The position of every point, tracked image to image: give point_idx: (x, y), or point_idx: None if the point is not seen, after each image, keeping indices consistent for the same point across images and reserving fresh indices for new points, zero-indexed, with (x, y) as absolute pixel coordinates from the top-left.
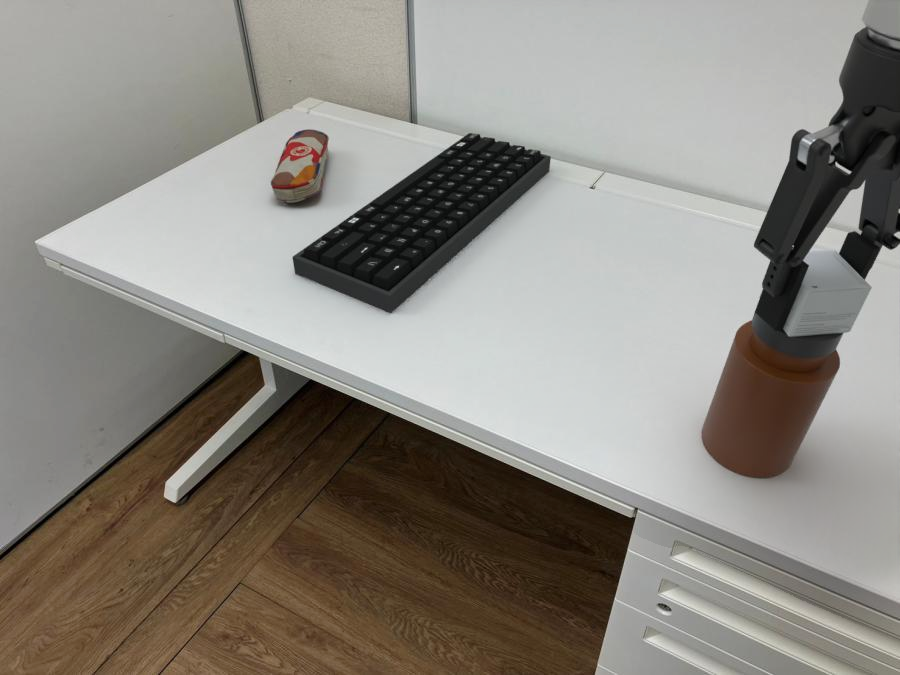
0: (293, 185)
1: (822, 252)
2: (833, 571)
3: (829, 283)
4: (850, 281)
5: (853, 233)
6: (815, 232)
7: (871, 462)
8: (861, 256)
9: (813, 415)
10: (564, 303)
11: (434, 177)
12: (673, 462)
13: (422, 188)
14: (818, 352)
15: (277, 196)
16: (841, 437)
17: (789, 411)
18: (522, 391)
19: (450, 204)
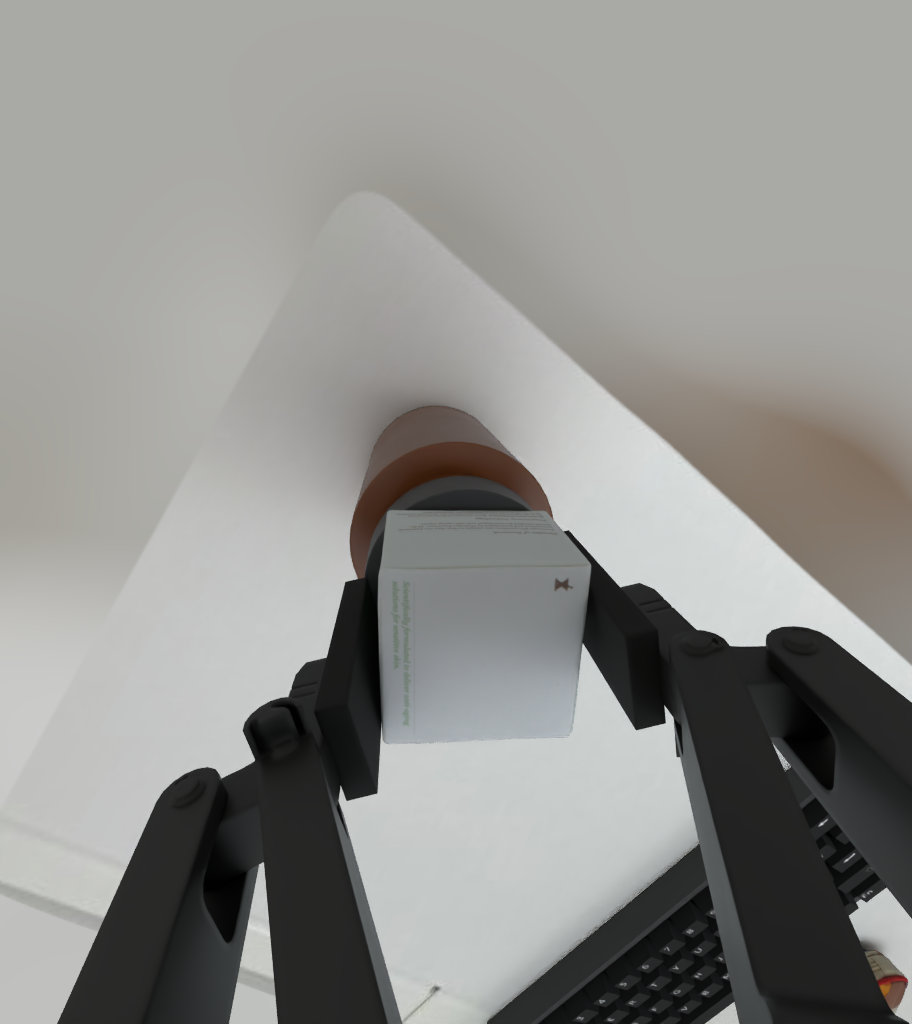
0: (888, 982)
1: (435, 735)
2: (421, 227)
3: (507, 596)
4: (436, 599)
5: (359, 789)
6: (732, 735)
7: (257, 412)
8: (359, 695)
9: (401, 435)
10: (579, 756)
11: (693, 1004)
12: (557, 452)
13: (717, 981)
14: (461, 480)
15: (890, 961)
16: (281, 465)
17: (467, 430)
18: (704, 599)
19: (696, 948)
